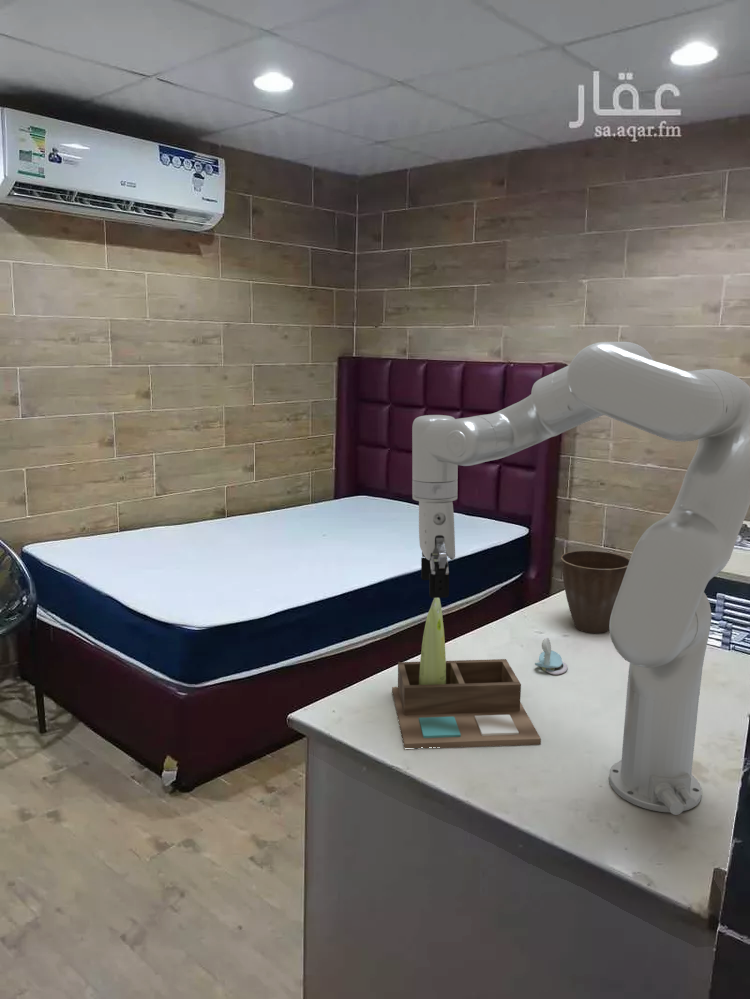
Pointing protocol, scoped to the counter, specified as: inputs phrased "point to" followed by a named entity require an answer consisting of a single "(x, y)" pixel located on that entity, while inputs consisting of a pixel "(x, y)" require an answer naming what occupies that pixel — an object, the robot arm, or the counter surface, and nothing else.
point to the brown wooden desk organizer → (463, 707)
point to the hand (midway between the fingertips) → (434, 587)
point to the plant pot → (592, 587)
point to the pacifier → (550, 659)
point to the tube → (433, 648)
